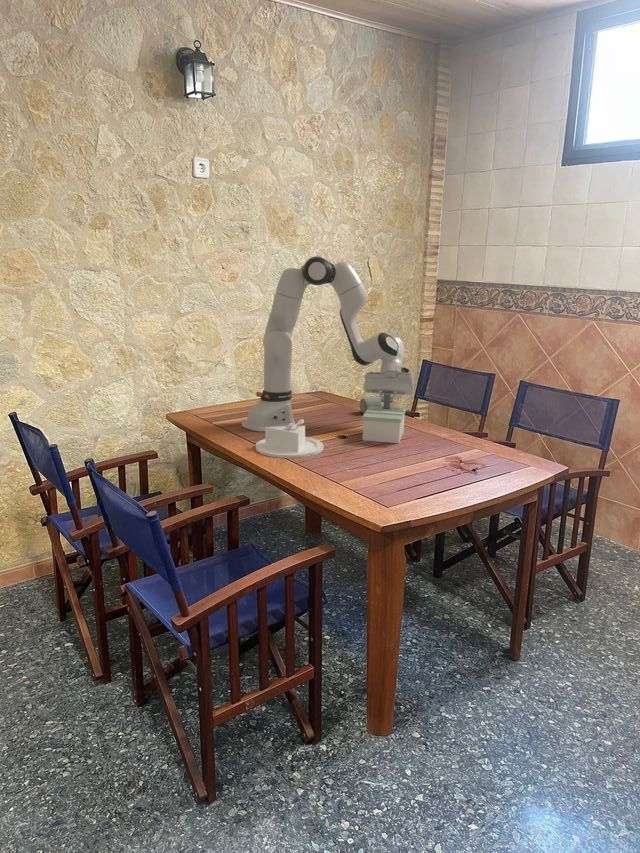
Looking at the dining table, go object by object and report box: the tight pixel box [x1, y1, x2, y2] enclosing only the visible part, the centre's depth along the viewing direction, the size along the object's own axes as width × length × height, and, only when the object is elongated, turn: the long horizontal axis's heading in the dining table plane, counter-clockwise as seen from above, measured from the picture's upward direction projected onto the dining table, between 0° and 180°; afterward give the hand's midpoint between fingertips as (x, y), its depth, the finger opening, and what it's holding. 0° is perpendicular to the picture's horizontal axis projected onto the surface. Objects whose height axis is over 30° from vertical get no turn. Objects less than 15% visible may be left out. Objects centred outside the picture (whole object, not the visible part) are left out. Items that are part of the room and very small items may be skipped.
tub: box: [362, 413, 406, 444], centre depth 248 cm, size 18×14×8 cm
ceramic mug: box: [359, 395, 383, 414], centre depth 282 cm, size 11×8×8 cm
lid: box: [361, 392, 407, 423], centre depth 246 cm, size 19×15×9 cm
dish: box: [255, 418, 325, 459], centre depth 230 cm, size 25×25×11 cm
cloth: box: [440, 455, 488, 474], centre depth 214 cm, size 20×22×2 cm
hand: (387, 401), depth 252 cm, fingers closed on lid, 2 cm apart
